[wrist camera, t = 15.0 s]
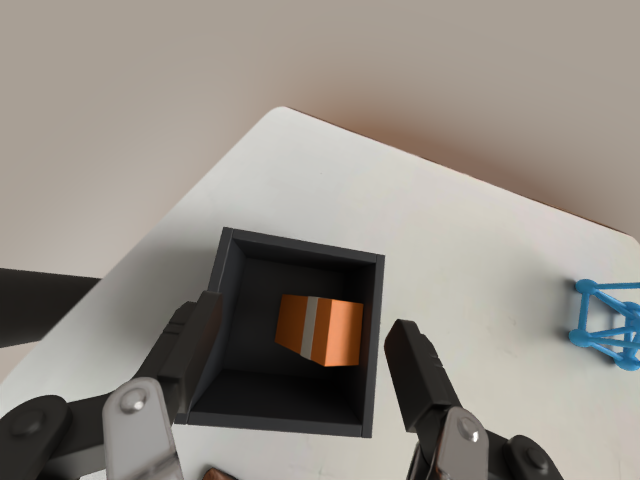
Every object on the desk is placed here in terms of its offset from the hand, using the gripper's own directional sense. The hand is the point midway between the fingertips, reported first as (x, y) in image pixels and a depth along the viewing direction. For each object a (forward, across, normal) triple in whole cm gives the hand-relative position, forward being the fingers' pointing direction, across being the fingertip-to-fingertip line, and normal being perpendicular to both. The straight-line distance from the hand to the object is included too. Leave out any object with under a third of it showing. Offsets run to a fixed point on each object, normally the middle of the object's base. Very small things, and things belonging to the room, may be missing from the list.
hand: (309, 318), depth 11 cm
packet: (+11, 0, +13) cm, 17 cm away
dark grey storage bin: (+12, 0, +14) cm, 19 cm away
